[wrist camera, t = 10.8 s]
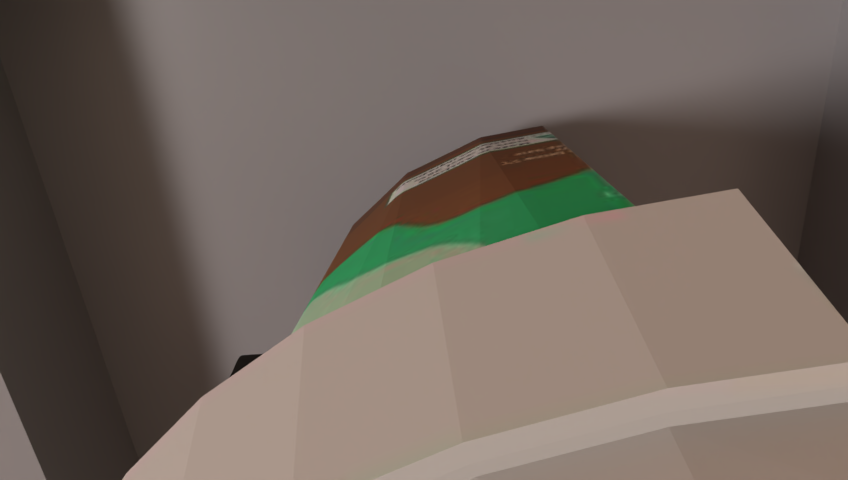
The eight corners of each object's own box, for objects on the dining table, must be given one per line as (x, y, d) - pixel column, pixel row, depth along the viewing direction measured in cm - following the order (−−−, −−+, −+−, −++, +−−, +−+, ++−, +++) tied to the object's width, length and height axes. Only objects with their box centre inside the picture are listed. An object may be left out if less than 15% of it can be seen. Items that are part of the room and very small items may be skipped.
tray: (761, 540, 19) (841, 680, 15) (166, 571, 20) (106, 712, 16) (895, -173, 12) (1112, -230, 8) (-65, -82, 12) (-275, -97, 9)
